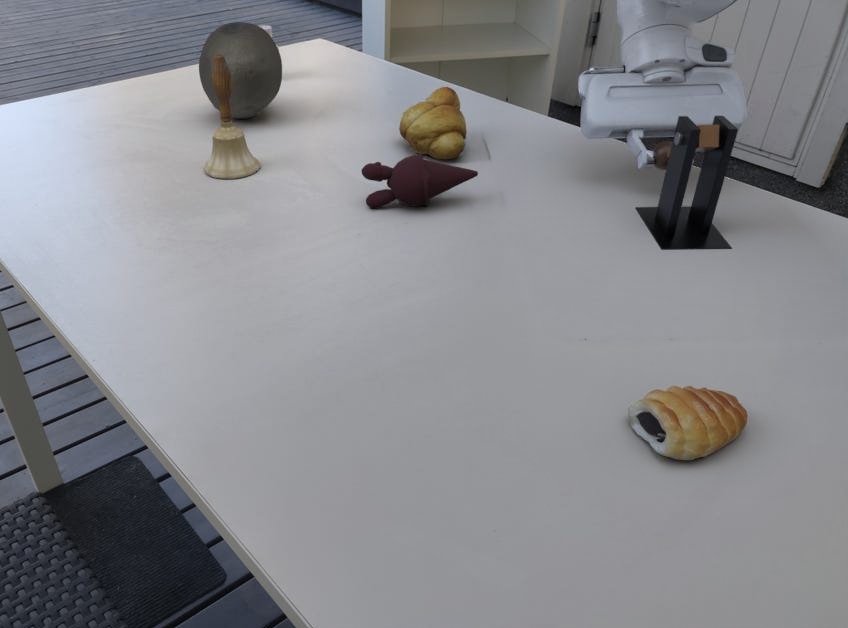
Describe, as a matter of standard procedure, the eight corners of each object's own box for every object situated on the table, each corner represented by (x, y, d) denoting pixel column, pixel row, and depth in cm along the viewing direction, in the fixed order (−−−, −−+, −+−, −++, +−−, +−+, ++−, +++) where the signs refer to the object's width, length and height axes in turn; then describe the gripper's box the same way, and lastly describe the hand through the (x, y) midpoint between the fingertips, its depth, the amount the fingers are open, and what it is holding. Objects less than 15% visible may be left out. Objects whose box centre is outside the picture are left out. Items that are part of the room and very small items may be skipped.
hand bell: (251, 153, 114) (238, 44, 104) (267, 173, 108) (255, 58, 98) (198, 163, 111) (179, 51, 102) (211, 183, 105) (193, 67, 96)
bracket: (633, 215, 94) (656, 106, 86) (696, 214, 94) (726, 105, 86) (659, 258, 86) (687, 141, 77) (729, 257, 85) (765, 140, 77)
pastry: (708, 394, 66) (719, 360, 64) (764, 444, 61) (779, 408, 59) (618, 420, 63) (626, 385, 61) (669, 473, 58) (680, 438, 56)
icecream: (471, 142, 98) (359, 156, 99) (481, 148, 92) (360, 164, 92) (474, 194, 101) (365, 208, 101) (484, 204, 94) (367, 219, 95)
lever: (646, 172, 96) (647, 144, 95) (674, 172, 96) (675, 143, 95) (692, 153, 81) (693, 119, 81) (725, 152, 81) (726, 118, 81)
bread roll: (476, 162, 109) (480, 108, 104) (411, 168, 108) (412, 113, 103) (453, 132, 119) (455, 81, 115) (394, 137, 118) (394, 86, 113)
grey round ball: (189, 126, 124) (173, 31, 115) (232, 100, 135) (221, 11, 126) (263, 136, 120) (252, 38, 111) (302, 109, 130) (295, 17, 121)
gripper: (583, 53, 93) (590, 157, 91) (747, 49, 93) (758, 153, 90) (570, 80, 99) (577, 178, 97) (724, 76, 99) (734, 174, 97)
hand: (666, 166), depth 94 cm, fingers closed on lever, 3 cm apart
